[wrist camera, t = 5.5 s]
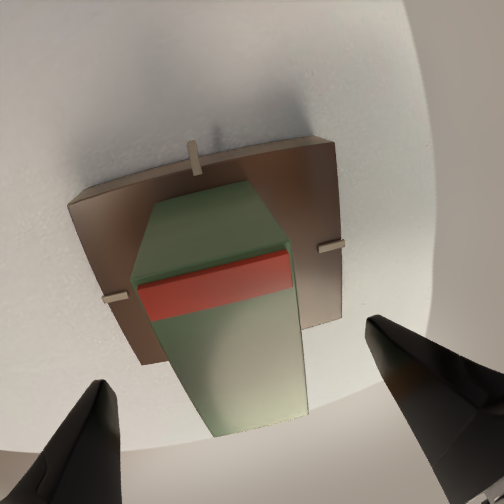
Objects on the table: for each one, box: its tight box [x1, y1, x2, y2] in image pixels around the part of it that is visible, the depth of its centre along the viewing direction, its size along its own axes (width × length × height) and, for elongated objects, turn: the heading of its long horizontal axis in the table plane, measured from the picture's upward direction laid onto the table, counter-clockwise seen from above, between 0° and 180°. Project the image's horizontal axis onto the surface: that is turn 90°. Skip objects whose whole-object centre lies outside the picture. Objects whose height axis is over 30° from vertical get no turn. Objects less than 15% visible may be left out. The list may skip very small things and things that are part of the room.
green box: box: [130, 180, 309, 437], centre depth 12 cm, size 8×4×6 cm, turn 10°
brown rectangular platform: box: [67, 136, 345, 365], centre depth 15 cm, size 12×12×3 cm
